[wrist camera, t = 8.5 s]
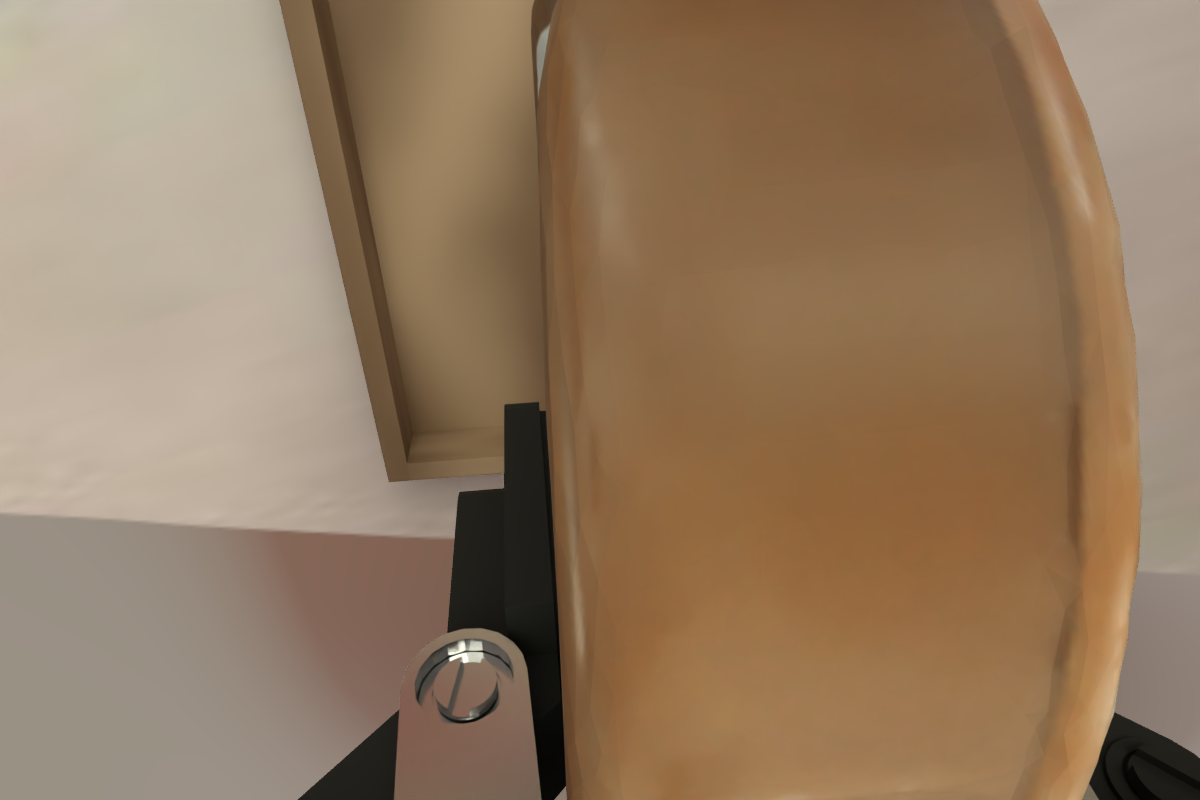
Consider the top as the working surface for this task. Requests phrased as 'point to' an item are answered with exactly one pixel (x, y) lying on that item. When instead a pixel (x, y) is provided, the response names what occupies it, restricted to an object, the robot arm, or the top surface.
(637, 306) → the tin
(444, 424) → the walnut tray
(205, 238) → the top surface
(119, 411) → the top surface
